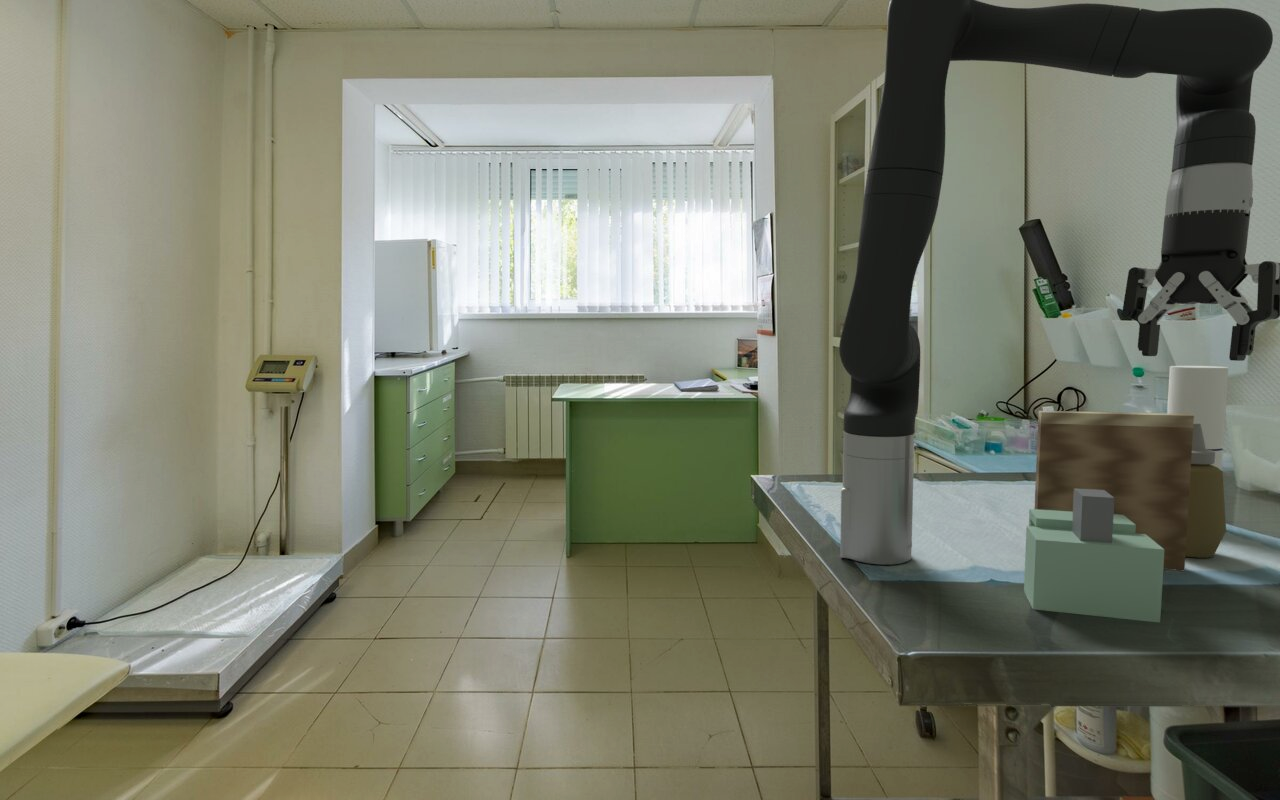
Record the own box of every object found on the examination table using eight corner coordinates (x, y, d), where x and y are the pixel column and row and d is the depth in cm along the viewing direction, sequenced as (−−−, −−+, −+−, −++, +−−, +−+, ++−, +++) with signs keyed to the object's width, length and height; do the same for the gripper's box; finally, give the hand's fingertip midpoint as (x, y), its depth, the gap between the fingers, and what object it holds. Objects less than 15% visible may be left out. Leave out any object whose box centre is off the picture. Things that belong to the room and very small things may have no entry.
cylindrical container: (1228, 533, 109) (1239, 368, 107) (1175, 531, 110) (1184, 368, 108) (1201, 521, 116) (1211, 365, 114) (1152, 519, 117) (1160, 365, 115)
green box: (1032, 609, 80) (1037, 495, 79) (1017, 578, 91) (1021, 476, 89) (1160, 623, 77) (1167, 502, 75) (1129, 588, 87) (1135, 482, 85)
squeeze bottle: (1220, 549, 101) (1228, 422, 100) (1228, 565, 94) (1238, 429, 93) (1150, 541, 106) (1157, 418, 104) (1153, 555, 99) (1160, 425, 97)
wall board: (1035, 558, 98) (1041, 412, 96) (1026, 544, 105) (1031, 406, 103) (1184, 570, 93) (1193, 415, 91) (1165, 554, 99) (1173, 410, 97)
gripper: (1119, 216, 84) (1107, 355, 86) (1273, 199, 72) (1255, 362, 74) (1151, 221, 88) (1139, 354, 90) (1303, 206, 76) (1285, 361, 77)
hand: (1191, 358), depth 82 cm, fingers open, 8 cm apart
